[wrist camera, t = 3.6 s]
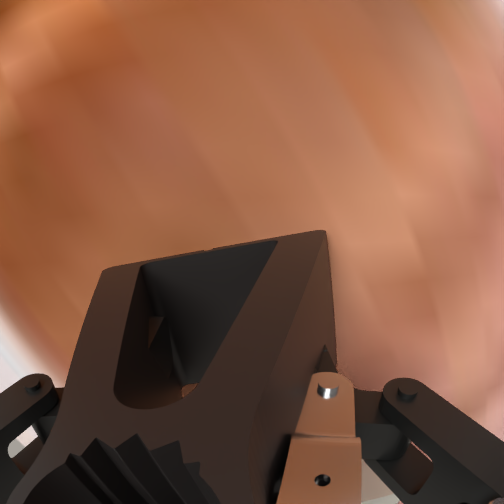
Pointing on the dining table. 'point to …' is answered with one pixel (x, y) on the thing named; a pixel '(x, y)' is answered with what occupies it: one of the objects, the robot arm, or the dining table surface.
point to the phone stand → (190, 378)
